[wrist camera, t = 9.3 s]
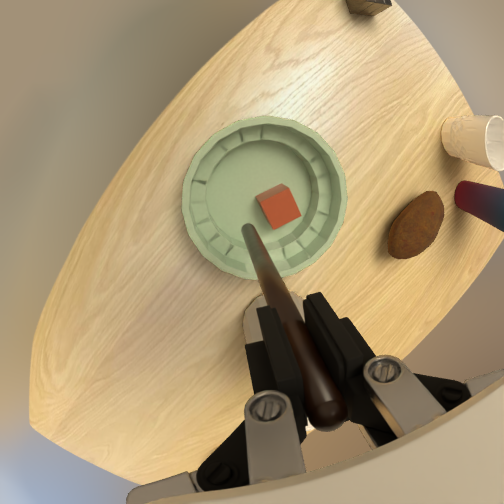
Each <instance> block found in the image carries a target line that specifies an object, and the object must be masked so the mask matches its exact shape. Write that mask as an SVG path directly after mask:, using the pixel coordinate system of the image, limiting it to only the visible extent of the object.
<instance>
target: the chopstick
mask: <svg viewBox="0 0 504 504" xmlns="http://www.w3.org/2000/svg"><path fill="white" fill-rule="evenodd" d="M241 232H242V235H243V238H244V241H245V244H246V247H247V249H248V252H249V255H250V258H251V261H252V263H253V266H254V269H255V272H256V275H257V278H258V280H259V283H260V286H261V289H262V292H263V294H264V297H265V300H266V303H267V305H270V308H274V307H276V309H277V312H278V314H279V317H280V320H281V322H282V325H283V327H284V330H285V332H286V335H287V337H288V340H289V342H290V345H291V347H292V350H293V353H294V355H295V358H296V360H297V363H298V365H299V368H300V371H301V374H302V379H303V386H304V394H305V402H304V409H305V412H306V415H307V417H308V420H309V422H310V424H311V425H312V426H313V427H314V428H315V429H317V430H319V431H324V432H330V431H333V430H336V429H338V428H339V427H340V426H342V424H343V423H344V422H345V420H346V418H347V414H348V408H347V405H346V402H345V401H344V399H343V397H342V395H341V393H340V391H339V390H338V388H337V386H336V384H335V382H334V380H333V378H332V376H331V374H330V372H329V370H328V368H327V366H326V364H325V362H324V360H323V358H322V356H321V354H320V352H319V350H318V348H317V346H316V344H315V342H314V340H313V338H312V336H311V334H310V332H309V330H308V329H307V327H306V325H305V322H304V320H303V318H302V316H301V314H300V312H299V310H298V308H297V307H296V305H295V303H294V301H293V299H292V297H291V295H290V293H289V291H288V289H287V287H286V285H285V284H284V282H283V280H282V278H281V276H280V274H279V272H278V270H277V268H276V266H275V264H274V263H273V261H272V259H271V257H270V255H269V253H268V251H267V249H266V247H265V246H264V244H263V242H262V240H261V238H260V236H259V234H258V232H257V230H256V229H255V227H254V225H252V224H250V223H246V224H244V225H243V226H242V228H241Z"/></svg>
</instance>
